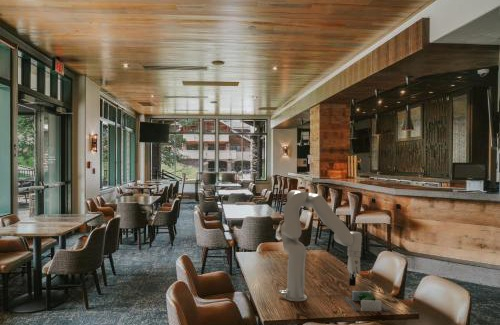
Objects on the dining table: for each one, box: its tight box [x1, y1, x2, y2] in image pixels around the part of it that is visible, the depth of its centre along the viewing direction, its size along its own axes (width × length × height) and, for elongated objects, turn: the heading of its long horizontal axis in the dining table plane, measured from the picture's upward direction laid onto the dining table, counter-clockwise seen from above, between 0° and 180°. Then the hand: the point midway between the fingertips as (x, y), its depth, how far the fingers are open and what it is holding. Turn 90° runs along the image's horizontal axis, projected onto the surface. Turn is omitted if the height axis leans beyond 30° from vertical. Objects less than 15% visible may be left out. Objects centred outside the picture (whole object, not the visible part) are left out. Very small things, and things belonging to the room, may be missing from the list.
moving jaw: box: [351, 290, 372, 302], centre depth 227 cm, size 10×2×5 cm, turn 93°
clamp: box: [358, 292, 377, 303], centre depth 220 cm, size 12×6×9 cm, turn 177°
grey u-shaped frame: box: [344, 296, 389, 312], centre depth 221 cm, size 17×20×5 cm
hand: (352, 285), depth 236 cm, fingers closed
